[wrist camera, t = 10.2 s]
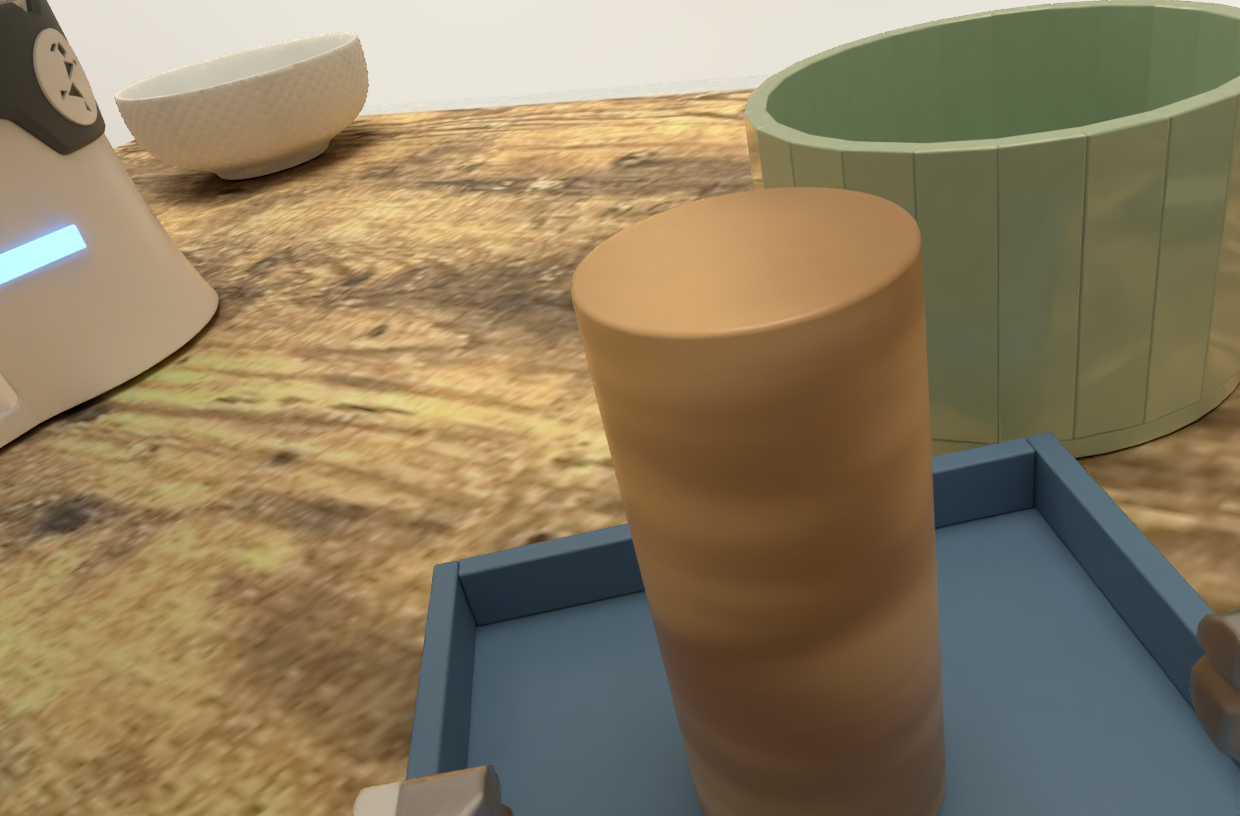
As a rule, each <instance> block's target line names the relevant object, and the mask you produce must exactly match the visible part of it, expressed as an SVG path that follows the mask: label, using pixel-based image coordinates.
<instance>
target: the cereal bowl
mask: <svg viewBox="0 0 1240 816" xmlns="http://www.w3.org/2000/svg"><path fill="white" fill-rule="evenodd" d="M368 86H369V84H368V71H367V67H366V62H365V58H364V53H363V50H362V46H361V44H360V40H359V38H358V36H357V35H356V34H354V33H333V34H325V35H318V36H312V37H307V38H301V39H296V40H291V41H286V42H281V43H276V44H271V45H267V46H263V47H259V48H254V49H250V50H245V51H241V52H237V53H232V54H228V55H224V56H220V57H217V58H213V59H209V60H205V61H201V62H197V63H194V64H190V65H187V66H183V67H179V68H176V69H173V70H170V71H166V72H163V73H160V74H158V75H155V76H152V77H149V78H146V79H143V80H141V81H138V82H136V83H133V84H131V85H129V86H127V87H125V88H123V89H121V90H120V91H118V92H117V93H116V94H115V100H116V104H117V106H118V108H119V112H120V113H121V116H122V117H123V119H124V122H125V124H126V125H127V128H128V129H129V130H130V132H131V134H132V135H133V136H134V138H135V139H136V141H137V142H138V143H139V145H140V146H141V147H143V148H144V149H145V151H147V152H149V153H150V154H151V155H152V156H154V157H156V158H157V159H160V160H161V161H163V162H165V163H168V164H170V165H173V166H176V167H179V168H185V169H192V170H198V171H207V172H212V173H215V174H217V175H218V176H219V177H220V178H222V179H226V180H240V179H248V178H253V177H258V176H263V175H267V174H271V173H275V172H278V171H281V170H285V169H288V168H291V167H294V166H296V165H299V164H302V163H304V162H307V161H309V160H311V159H313V158H315V157H317V156H318V155H320V154H322V153H323V152H324V151H326V149H327V148H328V147H329V142H330V140H331V139H332V138H333V137H334V136H336V135H337V134H338V133H340V132H342V130H344V129H345V128H346V127H347V126H349V125H350V123H352V122H353V120H354V119H355V118H356V117H357V116H358V115H359V113H360V112H361V110H362V107H363V106H364V103H365V101H366V97H367V92H368Z"/></svg>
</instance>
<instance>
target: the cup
mask: <svg viewBox="0 0 1240 816" xmlns="http://www.w3.org/2000/svg"><path fill="white" fill-rule="evenodd" d="M744 118H745V125H746V133H747V140H748V147H749V155H750V162H751V169H752V177H753V184H754V190H760V189H769V188H784V187H824V188H836V189H845V190H852V191H858V192H863V193H867V194H871V195H875V196H878V197H881V198H883V199H886V200H889V201H891V202H893V203H895V204H897V205H899V206H900V207H902V208H903V209H904V210H906V211H907V212H908V213H909V214H910V215H911V216H912V217H913V218H914V220H915V221H916V223H917V224H918V227H919V229H920V231H921V234H922V254H923V276H924V298H925V320H926V342H927V365H928V387H929V409H930V431H931V453H932V457H936V456H941V455H945V454H950V453H954V452H959V451H964V450H968V449H973V448H978V447H982V446H987V445H991V444H996V443H1001V442H1005V441H1010V440H1014V439H1019V438H1025V439H1026V437H1028V436H1033V435H1037V434H1042V433H1047V432H1051V433H1052V434H1053V435H1054V436H1055V437H1056V438H1057V439H1058V440H1059V442H1060V443H1061V444H1062V445H1063V446H1064V447H1065V448H1066V449H1067V450H1068V451H1069V453H1070V454H1071V455H1072V456H1073V457H1074V458H1079V457H1085V456H1091V455H1097V454H1102V453H1108V452H1112V451H1116V450H1119V449H1123V448H1127V447H1131V446H1135V445H1139V444H1142V443H1145V442H1147V441H1150V440H1153V439H1156V438H1158V437H1161V436H1164V435H1167V434H1169V433H1172V432H1174V431H1176V430H1178V429H1180V428H1182V427H1184V426H1186V425H1188V424H1190V423H1192V422H1194V421H1196V420H1198V419H1199V418H1201V417H1202V416H1204V415H1205V414H1207V413H1208V412H1210V411H1211V410H1213V409H1214V408H1216V407H1217V406H1218V405H1219V404H1220V403H1221V402H1222V401H1223V400H1224V399H1226V398H1227V397H1228V396H1229V395H1230V394H1231V393H1232V392H1233V391H1234V389H1235V388H1236V387H1237V385H1238V384H1239V382H1240V8H1237V7H1232V6H1227V5H1223V4H1214V3H1202V2H1191V1H1179V0H1111V1H1110V0H1101V1H1086V2H1070V3H1055V4H1052V5H1051V4H1043V5H1035V6H1027V7H1018V8H1010V9H1001V10H994V11H988V12H982V13H977V14H971V15H965V16H959V17H954V18H948V19H942V20H937V21H931V22H927V23H923V24H918V25H914V26H910V27H905V28H902V29H897V30H893V31H888V32H885V33H881V34H877V35H874V36H871V37H867V38H864V39H860V40H857V41H854V42H850V43H847V44H844V45H840V46H838V47H835V48H832V49H829V50H827V51H824V52H822V53H819V54H817V55H814V56H812V57H809V58H807V59H804V60H802V61H799V62H798V63H795V64H793V65H792V66H790V67H788V68H786V69H784V70H783V71H781V72H779V73H777V74H775V75H773V76H772V77H770V78H768V79H767V80H765V81H764V82H763V83H762V84H761V85H760V86H759V87H758V88H757V89H756V90H755V91H754V92H753V93H752V94H751V95H750V96H749V97H748V100H747V104H746V109H745V113H744Z"/></svg>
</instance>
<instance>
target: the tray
mask: <svg viewBox="0 0 1240 816" xmlns="http://www.w3.org/2000/svg"><path fill="white" fill-rule="evenodd" d="M932 475H933V497H934V519H935V541H936V563H937V585H938V607H939V629H940V651H941V673H942V696H943V718H944V740H945V762H946V786H945V794H944V798H943V801H942V805H941V808H940V810H939V812H938V814H937V816H1240V762H1239V761H1237V760H1235V759H1233V758H1231V757H1229V756H1228V755H1226V754H1224V753H1222V752H1220V751H1219V750H1218V748H1217V747H1216V746H1215V744H1214V743H1213V742H1212V740H1211V739H1210V738H1209V736H1208V735H1207V734H1206V732H1205V730H1204V729H1203V727H1202V725H1201V723H1200V721H1199V719H1198V717H1197V715H1196V713H1195V709H1194V705H1193V702H1192V698H1191V694H1190V690H1189V688H1190V677H1191V668H1192V667H1193V666H1194V665H1195V664H1196V663H1197V662H1198V661H1199V659H1200V658H1201V657H1202V656H1203V655H1204V654H1205V653H1206V652H1205V651H1204V649H1203V648H1202V647H1201V646H1200V645H1199V643H1198V642H1197V641H1196V635H1197V629H1198V623H1199V622H1200V621H1201V620H1202V619H1203V618H1204V616H1205V615H1207V614H1211V613H1215V612H1214V611H1213V610H1212V609H1211V608H1210V607H1209V606H1208V605H1207V603H1206V602H1205V601H1204V600H1203V599H1202V598H1201V597H1200V596H1199V595H1198V594H1197V592H1196V591H1195V590H1194V589H1193V588H1192V587H1191V586H1190V585H1189V584H1188V583H1187V581H1186V580H1185V579H1184V578H1183V577H1182V576H1181V575H1180V574H1179V573H1178V572H1177V570H1176V569H1175V568H1174V567H1173V566H1172V565H1171V564H1170V563H1169V562H1168V561H1167V559H1166V558H1165V557H1164V556H1163V555H1162V554H1161V553H1160V552H1159V551H1158V550H1157V548H1156V547H1155V546H1154V545H1153V544H1152V543H1151V542H1150V541H1149V540H1148V538H1147V537H1146V536H1145V535H1144V534H1143V533H1142V532H1141V531H1140V530H1139V529H1138V527H1137V526H1136V525H1135V524H1134V523H1133V522H1132V521H1131V520H1130V519H1129V518H1128V516H1127V515H1126V514H1125V513H1124V512H1123V511H1122V510H1121V509H1120V508H1119V507H1118V505H1117V504H1116V503H1115V502H1114V501H1113V500H1112V499H1111V498H1110V497H1109V496H1108V494H1107V493H1106V492H1105V491H1104V490H1103V489H1102V488H1101V487H1100V486H1099V485H1098V483H1097V482H1096V481H1095V480H1094V479H1093V478H1092V477H1091V476H1090V475H1089V474H1088V472H1087V471H1086V470H1085V469H1084V468H1083V467H1082V466H1081V465H1080V464H1079V462H1078V461H1077V460H1076V459H1075V458H1074V457H1073V456H1072V455H1071V454H1070V453H1069V451H1068V450H1067V449H1066V448H1065V447H1064V446H1063V445H1062V444H1061V443H1060V442H1059V440H1058V439H1057V438H1056V437H1055V436H1054V435H1053V434H1052V433H1051V432H1047V433H1042V434H1037V435H1033V436H1028V437H1026V439H1025V438H1019V439H1014V440H1010V441H1005V442H1001V443H996V444H991V445H987V446H982V447H978V448H973V449H968V450H964V451H959V452H954V453H950V454H945V455H941V456H936V457H932ZM485 765H493V767H494V769H495V771H496V774H497V776H498V778H499V780H500V782H501V803H502V804H504V805H506V806H508V807H510V808H511V809H512V812H513V814H514V816H704V813H703V811H702V809H701V806H700V804H699V802H698V798H697V794H696V790H695V786H694V782H693V778H692V774H691V770H690V766H689V762H688V759H687V755H686V751H685V747H684V743H683V739H682V735H681V731H680V727H679V723H678V719H677V715H676V711H675V707H674V703H673V699H672V695H671V691H670V687H669V683H668V679H667V675H666V671H665V667H664V663H663V659H662V655H661V651H660V647H659V643H658V640H657V636H656V632H655V628H654V624H653V620H652V616H651V612H650V608H649V604H648V600H647V596H646V592H645V588H644V584H643V580H642V576H641V572H640V568H639V564H638V560H637V556H636V552H635V548H634V544H633V540H632V536H631V532H630V528H629V524H628V523H627V524H622V525H618V526H613V527H608V528H604V529H599V530H595V531H590V532H585V533H581V534H576V535H572V536H567V537H562V538H558V539H553V540H548V541H544V542H539V543H535V544H530V545H525V546H521V547H516V548H512V549H507V550H502V551H498V552H493V553H489V554H484V555H479V556H475V557H470V558H465V559H462V560H460V562H458V561H452V562H447V563H442V564H438V565H435V566H434V570H433V578H432V585H431V593H430V601H429V608H428V616H427V623H426V631H425V638H424V646H423V654H422V661H421V669H420V676H419V684H418V691H417V699H416V707H415V714H414V722H413V729H412V737H411V744H410V752H409V760H408V767H407V775H406V780H407V779H413V778H418V777H424V776H429V775H435V774H441V773H446V772H452V771H457V770H463V769H468V768H474V767H480V766H485Z"/></svg>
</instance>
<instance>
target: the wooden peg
mask: <svg viewBox="0 0 1240 816" xmlns="http://www.w3.org/2000/svg"><path fill="white" fill-rule="evenodd" d="M570 294H571V298H572V302H573V306H574V310H575V314H576V318H577V322H578V326H579V330H580V334H581V338H582V342H583V346H584V350H585V354H586V358H587V362H588V366H589V370H590V374H591V378H592V382H593V386H594V390H595V394H596V398H597V402H598V405H599V409H600V413H601V417H602V421H603V425H604V429H605V433H606V437H607V441H608V445H609V449H610V453H611V457H612V461H613V465H614V469H615V473H616V477H617V481H618V485H619V489H620V493H621V497H622V501H623V505H624V509H625V513H626V517H627V521H628V524H629V528H630V532H631V536H632V540H633V544H634V548H635V552H636V556H637V560H638V564H639V568H640V572H641V576H642V580H643V584H644V588H645V592H646V596H647V600H648V604H649V608H650V612H651V616H652V620H653V624H654V628H655V632H656V636H657V640H658V643H659V647H660V651H661V655H662V659H663V663H664V667H665V671H666V675H667V679H668V683H669V687H670V691H671V695H672V699H673V703H674V707H675V711H676V715H677V719H678V723H679V727H680V731H681V735H682V739H683V743H684V747H685V751H686V755H687V759H688V762H689V766H690V770H691V774H692V778H693V782H694V786H695V790H696V794H697V798H698V802H699V804H700V806H701V809H702V811H703V813H704V816H937V814H938V812H939V810H940V808H941V805H942V801H943V798H944V794H945V786H946V762H945V740H944V718H943V696H942V673H941V651H940V629H939V607H938V585H937V563H936V541H935V519H934V497H933V475H932V453H931V431H930V409H929V387H928V365H927V342H926V320H925V298H924V276H923V254H922V234H921V231H920V229H919V227H918V224H917V223H916V221H915V220H914V218H913V217H912V216H911V215H910V214H909V213H908V212H907V211H906V210H904V209H903V208H902V207H900V206H899V205H897V204H895V203H893V202H891V201H889V200H886V199H883V198H881V197H878V196H875V195H871V194H867V193H863V192H858V191H852V190H845V189H836V188H824V187H784V188H769V189H760V190H751V191H744V192H738V193H732V194H727V195H722V196H717V197H712V198H708V199H704V200H700V201H696V202H692V203H689V204H685V205H682V206H679V207H675V208H672V209H670V210H667V211H664V212H661V213H658V214H656V215H653V216H651V217H649V218H646V219H644V220H641V221H639V222H637V223H635V224H633V225H631V226H629V227H627V228H625V229H623V230H621V231H619V232H618V233H616V234H614V235H612V236H611V237H609V238H608V239H606V240H605V241H604V242H602V243H601V244H599V245H598V246H597V247H596V248H594V249H593V250H592V251H591V252H590V253H589V254H588V255H587V256H586V257H585V258H584V259H583V260H582V261H581V263H580V264H579V266H578V267H577V269H576V270H575V272H574V275H573V278H572V282H571V291H570Z"/></svg>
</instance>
